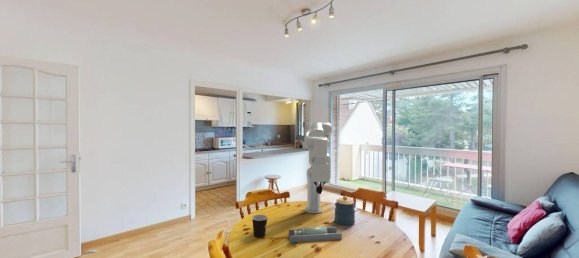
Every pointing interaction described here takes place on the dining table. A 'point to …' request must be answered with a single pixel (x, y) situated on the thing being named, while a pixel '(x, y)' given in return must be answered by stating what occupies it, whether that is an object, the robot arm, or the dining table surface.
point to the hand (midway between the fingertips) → (319, 193)
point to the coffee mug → (259, 225)
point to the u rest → (314, 236)
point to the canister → (344, 211)
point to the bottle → (311, 231)
